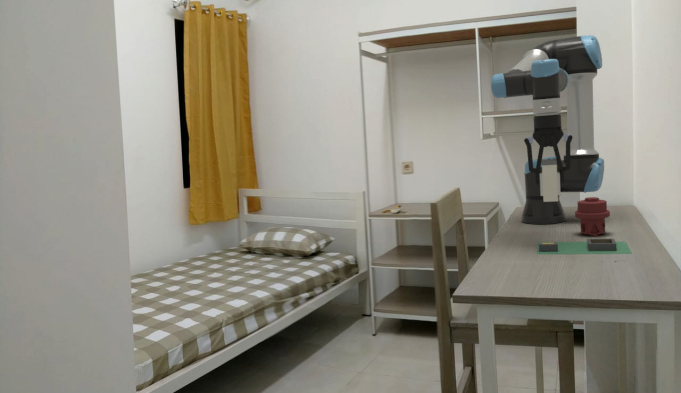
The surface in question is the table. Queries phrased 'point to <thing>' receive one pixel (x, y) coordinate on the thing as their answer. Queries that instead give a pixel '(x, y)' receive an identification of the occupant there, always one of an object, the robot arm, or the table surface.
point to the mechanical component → (592, 215)
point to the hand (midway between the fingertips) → (550, 194)
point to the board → (584, 247)
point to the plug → (549, 180)
